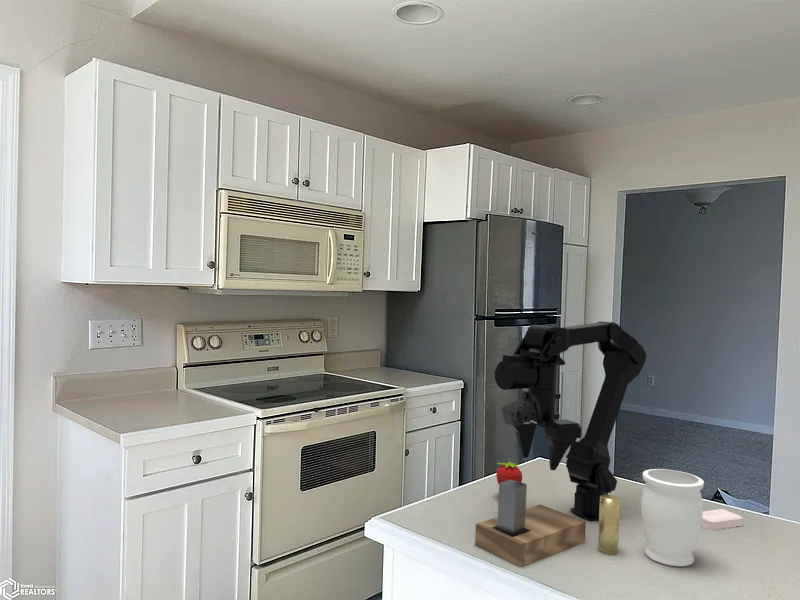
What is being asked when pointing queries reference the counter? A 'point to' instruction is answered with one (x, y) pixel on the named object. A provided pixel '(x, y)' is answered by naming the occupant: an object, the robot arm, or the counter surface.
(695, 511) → the jar
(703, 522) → the soap bar
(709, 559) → the counter surface
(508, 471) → the strawberry
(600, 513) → the round bit
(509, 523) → the square bit
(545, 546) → the socket block
